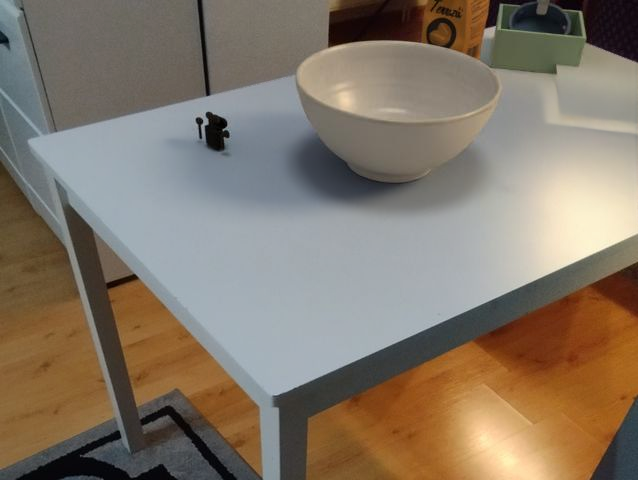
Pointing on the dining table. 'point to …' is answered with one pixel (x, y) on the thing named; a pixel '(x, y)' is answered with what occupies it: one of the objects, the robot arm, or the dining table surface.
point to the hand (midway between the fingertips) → (540, 11)
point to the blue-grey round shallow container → (540, 19)
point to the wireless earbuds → (214, 130)
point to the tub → (536, 45)
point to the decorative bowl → (396, 105)
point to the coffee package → (456, 25)
